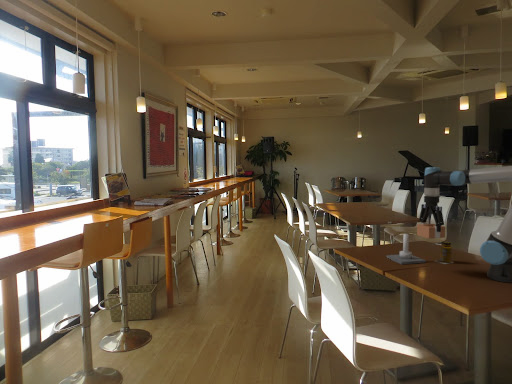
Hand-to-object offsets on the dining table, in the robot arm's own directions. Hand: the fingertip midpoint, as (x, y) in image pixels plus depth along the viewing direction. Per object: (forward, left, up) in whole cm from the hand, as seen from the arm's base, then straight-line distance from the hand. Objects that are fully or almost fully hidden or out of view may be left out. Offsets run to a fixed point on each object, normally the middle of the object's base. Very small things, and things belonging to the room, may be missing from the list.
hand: (430, 235), depth 205 cm
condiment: (+13, -20, -20) cm, 31 cm away
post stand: (+22, 0, -19) cm, 29 cm away
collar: (0, 0, 0) cm, 0 cm away
